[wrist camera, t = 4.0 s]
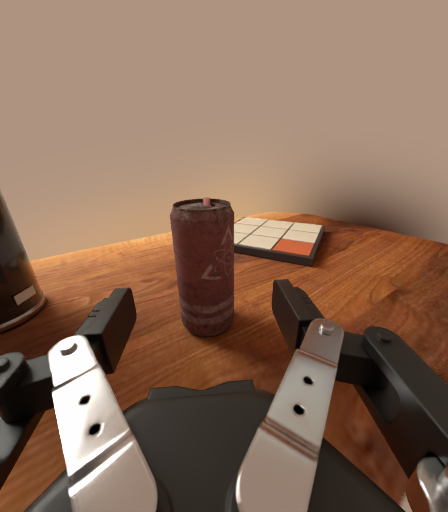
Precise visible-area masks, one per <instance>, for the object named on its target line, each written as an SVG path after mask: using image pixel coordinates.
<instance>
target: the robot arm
mask: <svg viewBox="0 0 448 512" xmlns="http://www.w3.org/2000/svg"><path fill="white" fill-rule="evenodd" d="M45 303H46V298H45V296H44V293H43V292H42V291H41V288H40V286H39V284H38V281H37V279H36V276H35V273H34V271H33V268H32V266H31V263H30V261H29V259H28V256H27V254H26V251H25V249H24V247H23V244H22V241H21V239H20V236H19V234H18V232H17V229H16V227H15V224H14V222H13V220H12V217H11V214H10V212H9V210H8V207H7V205H6V202H5V200H4V197H3V195H2V193H1V191H0V333H1V332H4V331H7V330H9V329H11V328H13V327H16V326H18V325H20V324H21V323H23V322H25V321H27V320H28V319H30V318H31V317H33V316H34V315H35V314H37V313H38V312H39V311H40V310H41V309H42V308H43V306H44V305H45ZM272 310H273V314H274V316H275V318H276V321H277V323H278V325H279V327H280V330H281V332H282V334H283V337H284V339H285V341H286V343H287V346H288V348H289V350H290V352H291V355H292V359H291V361H290V364H289V366H288V368H287V370H286V372H285V375H284V377H283V379H282V381H281V384H280V386H279V388H278V390H277V393H276V395H273V394H271V393H269V392H267V391H264V390H261V389H257V388H254V384H253V380H241V381H229V382H225V383H222V384H219V385H216V386H213V387H210V388H208V389H205V390H196V389H190V388H184V387H178V386H171V387H159V388H150V389H149V394H148V398H145V399H143V400H141V401H138V402H136V403H135V404H133V405H131V406H130V407H128V408H127V409H126V410H124V411H123V412H122V411H121V408H120V406H119V404H118V402H117V400H116V398H115V395H114V393H113V391H112V389H111V387H110V385H109V383H108V380H107V378H106V376H105V374H112V373H114V372H115V369H116V367H117V365H118V362H119V360H120V358H121V355H122V353H123V350H124V348H125V346H126V343H127V341H128V339H129V336H130V334H131V331H132V329H133V327H134V324H135V322H136V308H135V304H134V299H133V294H132V290H131V289H130V288H117V289H114V291H113V292H112V294H111V295H110V297H109V298H105V299H103V300H102V301H101V302H99V303H98V304H97V305H96V306H95V307H94V309H93V310H92V312H91V313H90V314H89V315H88V318H86V320H85V321H84V322H83V324H82V325H81V326H80V328H79V329H78V330H77V332H76V333H75V335H74V336H71V337H68V338H65V339H63V340H61V341H59V342H58V343H56V344H55V345H54V346H53V347H52V348H51V349H50V350H49V352H48V354H46V355H42V356H39V357H35V358H32V359H28V360H26V359H25V357H24V355H23V354H22V353H20V352H10V353H6V354H3V355H1V356H0V489H1V488H2V486H3V484H4V482H5V481H6V479H7V477H8V475H9V474H10V472H11V470H12V468H13V467H14V465H15V463H16V461H17V460H18V458H19V456H20V454H21V453H22V451H23V449H24V447H25V446H26V444H27V442H28V440H29V439H30V437H31V435H32V433H33V432H34V430H35V428H36V426H37V424H38V423H39V421H40V419H41V417H42V416H43V414H44V412H45V411H46V410H49V409H51V408H54V407H55V412H56V417H57V422H58V427H59V432H60V437H61V442H62V447H63V452H64V457H65V462H66V467H67V468H66V469H65V470H64V471H63V472H62V473H61V474H60V475H59V476H58V477H57V478H56V479H55V480H54V481H53V483H52V484H51V485H50V486H49V487H48V488H47V489H46V490H45V491H44V492H43V493H42V494H41V495H40V496H39V497H38V498H37V499H36V500H35V501H34V502H33V503H32V504H31V505H30V506H29V507H28V508H27V509H26V510H25V511H24V512H405V511H404V510H403V509H402V508H401V507H400V506H399V505H398V504H397V503H396V502H395V501H394V500H393V499H392V498H390V497H389V496H388V495H387V494H386V493H385V492H384V491H383V490H382V489H380V488H379V487H378V486H377V485H376V484H375V483H374V482H373V481H372V480H370V479H369V478H368V477H367V476H366V475H365V474H364V473H363V472H361V471H360V470H359V469H358V468H357V467H356V466H355V465H354V464H353V463H351V462H350V461H349V460H348V459H347V458H346V457H345V456H344V455H342V454H341V453H340V452H339V451H338V450H337V449H336V448H335V447H334V446H332V445H331V444H330V443H329V442H328V441H327V440H326V439H325V438H324V437H323V433H324V428H325V423H326V419H327V414H328V409H329V405H330V400H331V395H332V391H333V386H334V381H335V380H336V381H340V382H345V383H350V384H353V385H354V387H355V388H356V390H357V392H358V394H359V395H360V397H361V399H362V400H363V402H364V404H365V405H366V407H367V409H368V411H369V412H370V414H371V416H372V417H373V419H374V421H375V422H376V424H377V426H378V428H379V429H380V431H381V433H382V434H383V436H384V438H385V440H386V441H387V443H388V445H389V446H390V448H391V450H392V451H393V453H394V455H395V457H396V458H397V460H398V462H399V463H400V465H401V467H402V468H403V470H404V472H405V474H406V475H407V477H408V479H409V480H408V481H407V483H406V496H407V499H408V502H409V504H410V507H411V509H412V511H413V512H448V385H447V384H446V383H445V382H444V381H443V380H442V379H441V378H440V377H439V376H438V375H437V374H436V373H435V372H434V371H433V370H432V369H431V368H430V367H429V366H428V365H427V364H426V363H425V362H424V361H423V360H422V359H421V358H420V357H419V356H418V355H417V354H416V353H415V352H414V351H413V350H412V349H411V348H410V347H409V346H408V345H407V344H406V343H405V342H404V341H403V340H402V339H401V338H400V337H399V336H398V335H397V334H395V333H394V332H392V331H390V330H388V329H385V328H382V327H375V326H373V327H368V328H366V329H365V331H364V335H360V334H354V333H348V332H344V331H343V329H342V327H341V326H340V325H338V324H337V323H335V322H333V321H331V320H328V319H325V318H324V317H323V315H322V314H321V313H320V311H319V310H318V309H317V307H316V306H315V305H314V304H313V302H312V301H311V299H309V297H308V295H307V294H306V293H305V292H304V291H303V290H301V289H300V288H298V287H293V286H292V284H291V283H290V281H289V280H288V279H280V280H274V282H273V294H272Z"/></svg>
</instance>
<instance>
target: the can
mask: <svg viewBox="0 0 448 512" xmlns="http://www.w3.org/2000/svg"><path fill="white" fill-rule="evenodd" d="M170 219H171V229H172V237H173V246H174V255H175V264H176V272H177V281H178V290H179V299H180V307H181V316H182V322H183V324H184V326H185V327H186V328H187V329H188V330H189V331H190V332H191V333H193V334H195V335H198V336H204V337H207V336H215V335H218V334H221V333H222V332H224V331H225V330H226V329H227V328H228V327H229V326H230V324H231V323H232V322H233V318H234V212H233V210H232V208H231V206H230V202H228V201H225V200H219V199H210V198H203V199H192V200H184V201H180V202H176V203H174V204H173V209H172V212H171V214H170Z"/></svg>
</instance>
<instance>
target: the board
mask: <svg viewBox="0 0 448 512" xmlns="http://www.w3.org/2000/svg"><path fill="white" fill-rule="evenodd" d="M324 229H325V226H322V225H313V224H303V223H294V222H285V221H276V220H267V219H258V218H248V217H244V218H242V219H240V220H238V221H237V222H235V223H234V252H235V253H241V254H246V255H251V256H257V257H262V258H268V259H273V260H278V261H284V262H289V263H295V264H300V265H305V266H312V263H313V260H314V258H315V255H316V252H317V250H318V247H319V244H320V241H321V239H322V236H323V233H324Z"/></svg>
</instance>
